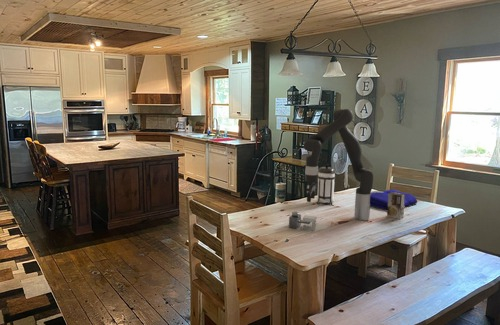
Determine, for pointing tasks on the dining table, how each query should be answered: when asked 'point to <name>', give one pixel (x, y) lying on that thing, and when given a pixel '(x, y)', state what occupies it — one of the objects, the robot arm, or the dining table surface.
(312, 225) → the lock block
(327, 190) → the coffee press
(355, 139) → the robot arm
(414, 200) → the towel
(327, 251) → the dining table surface
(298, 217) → the stubby hammer
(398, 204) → the coffee box
